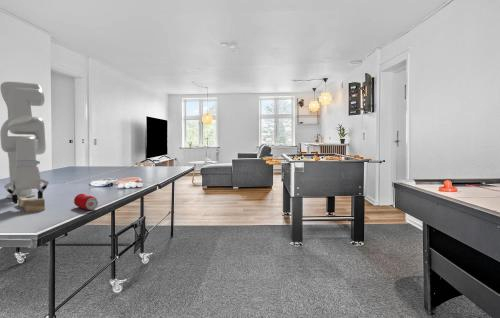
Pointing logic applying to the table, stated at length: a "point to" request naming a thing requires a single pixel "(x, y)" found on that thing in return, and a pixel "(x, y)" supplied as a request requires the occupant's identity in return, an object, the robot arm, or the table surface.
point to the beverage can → (86, 201)
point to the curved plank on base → (31, 204)
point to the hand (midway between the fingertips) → (27, 201)
